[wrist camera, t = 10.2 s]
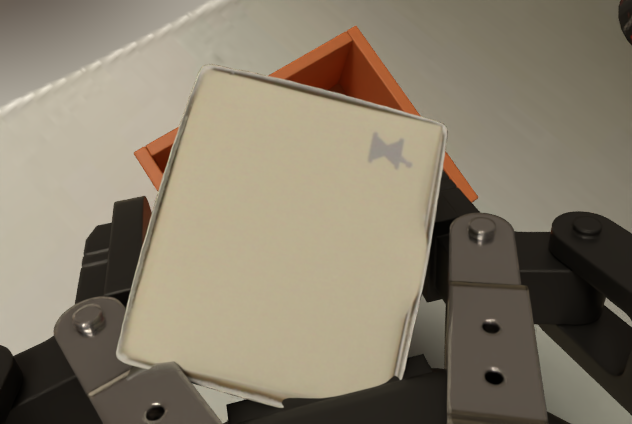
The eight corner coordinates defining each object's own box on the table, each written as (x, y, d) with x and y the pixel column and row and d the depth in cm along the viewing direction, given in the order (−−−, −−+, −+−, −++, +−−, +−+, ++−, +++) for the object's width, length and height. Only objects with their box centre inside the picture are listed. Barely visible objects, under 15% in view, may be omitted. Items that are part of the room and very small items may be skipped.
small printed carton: (233, 189, 19) (203, 40, 9) (359, 223, 19) (463, 112, 9) (188, 344, 18) (99, 366, 8) (322, 378, 18) (397, 440, 8)
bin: (339, 74, 33) (356, 24, 27) (441, 219, 32) (479, 197, 26) (155, 183, 30) (132, 152, 25) (257, 344, 29) (257, 348, 24)
